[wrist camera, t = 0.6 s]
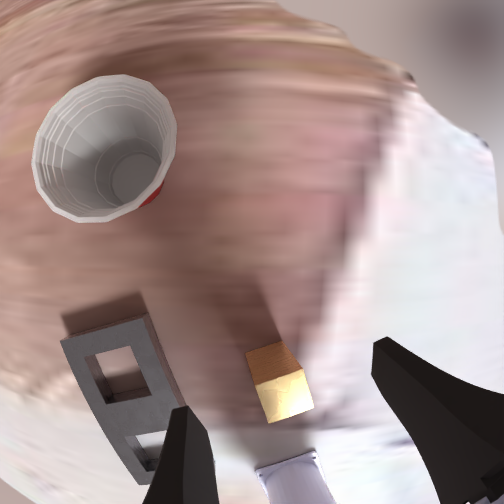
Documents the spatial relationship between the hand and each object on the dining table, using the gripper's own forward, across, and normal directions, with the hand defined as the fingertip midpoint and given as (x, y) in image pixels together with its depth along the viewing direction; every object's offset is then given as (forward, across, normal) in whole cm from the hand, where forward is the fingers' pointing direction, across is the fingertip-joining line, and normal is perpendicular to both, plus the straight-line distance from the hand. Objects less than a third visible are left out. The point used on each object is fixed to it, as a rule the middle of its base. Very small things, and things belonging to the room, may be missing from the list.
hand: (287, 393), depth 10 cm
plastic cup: (+24, +7, -5) cm, 26 cm away
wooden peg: (+15, 0, +15) cm, 21 cm away
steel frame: (+14, +15, +16) cm, 26 cm away
